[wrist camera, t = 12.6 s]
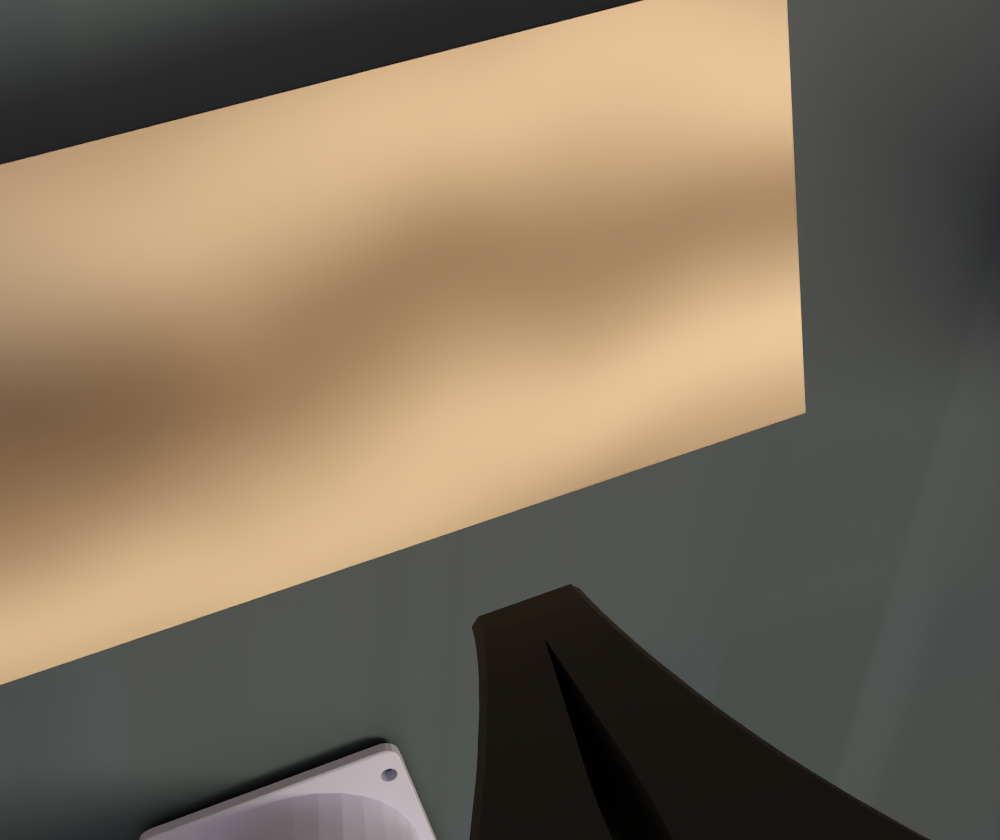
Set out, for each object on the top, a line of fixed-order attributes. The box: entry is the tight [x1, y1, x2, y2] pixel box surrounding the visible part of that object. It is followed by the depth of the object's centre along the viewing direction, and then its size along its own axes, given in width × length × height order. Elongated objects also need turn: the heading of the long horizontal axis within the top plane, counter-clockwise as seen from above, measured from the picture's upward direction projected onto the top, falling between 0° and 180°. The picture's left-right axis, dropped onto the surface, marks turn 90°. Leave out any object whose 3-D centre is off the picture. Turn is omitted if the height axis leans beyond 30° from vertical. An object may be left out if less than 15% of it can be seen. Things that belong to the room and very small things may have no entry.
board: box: [0, 0, 805, 685], centre depth 15 cm, size 9×24×4 cm, turn 103°
